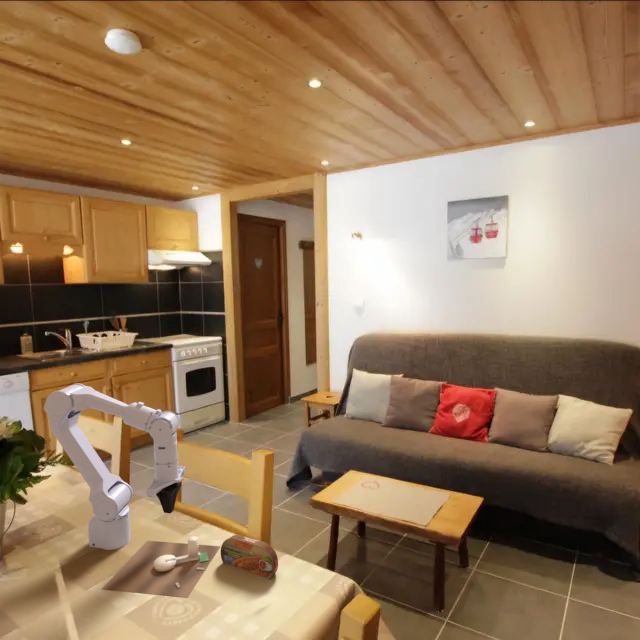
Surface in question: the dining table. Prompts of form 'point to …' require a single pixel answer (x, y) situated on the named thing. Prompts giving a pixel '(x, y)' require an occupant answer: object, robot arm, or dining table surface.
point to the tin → (250, 555)
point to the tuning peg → (170, 560)
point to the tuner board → (173, 582)
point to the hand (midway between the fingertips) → (168, 511)
